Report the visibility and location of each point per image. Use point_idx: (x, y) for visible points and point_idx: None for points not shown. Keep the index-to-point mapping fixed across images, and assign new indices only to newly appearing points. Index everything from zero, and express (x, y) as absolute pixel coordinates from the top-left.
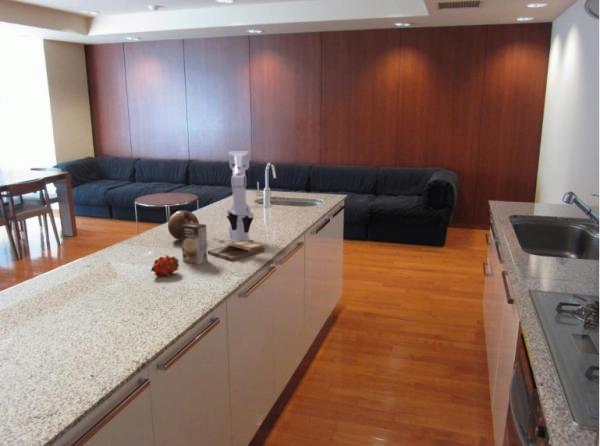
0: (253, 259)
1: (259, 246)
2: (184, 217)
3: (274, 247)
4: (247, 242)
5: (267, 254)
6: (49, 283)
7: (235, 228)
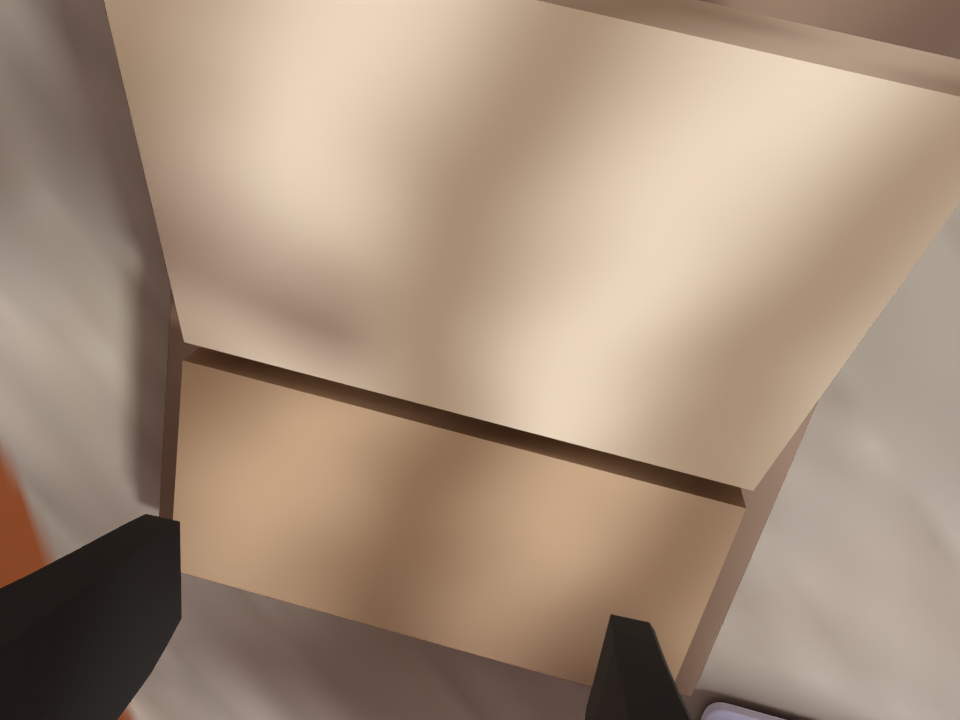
0: (5, 75)
1: (178, 515)
2: None
3: (181, 687)
4: (464, 609)
5: (32, 395)
6: None
7: (591, 711)
